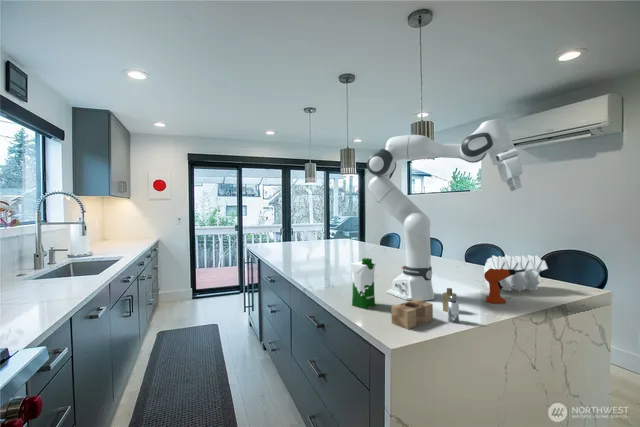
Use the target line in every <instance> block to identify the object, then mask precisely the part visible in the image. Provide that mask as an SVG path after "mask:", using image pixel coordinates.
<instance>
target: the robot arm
mask: <svg viewBox="0 0 640 427" xmlns="http://www.w3.org/2000/svg"><path fill="white" fill-rule="evenodd" d="M487 154H489V157H490V160H491V163H492V165H493V166H497V170H498V173H499V174H498V175H500V176H499V177H500V179H501V182H503V183H506V185H507V186H508V187H509V190H510V192H514V191H516V190H517V189H522V188H523V186H522V183H521V177H520V176H521V175H523V168H522V163H521V161H520V157H519V154H520V153H519V151H518V149H517V148H516V147H515V145H514V143H513V142H512V140H511V134H510V132H509V130H508V127H507V125H506V123H505V122H504V121H503V120H502V119H500V118H490V119H488V120H485V121H483V122H481V123H480V125H479V126H478V127H477V129H475V131H473V132H472V133H470V134H469V135H468V136H467V137H465V138H464V139H463V140H462V142H461V143H442V142H441V143H440V142H438V141H435V140H433V139H432V138H429V137H428V136H426V135H422V134H421V135H419V134H404V135H397V136H393V137H389V139H387V141H386V143H385V148H381V149H380V150H378V151H376V152H374V153H372V154H371V155H370V156H369V157H368V158H367V162H366V168H367V170H368V171H369V173H370V174H371V175H373V176H372V178H371V179H370V180H369V182H368V185H367V188H368V191H369V192H370V193H371V195H372V196H373V198H374V199H375V200H376V201H377V202H378V203H379V205H381V206H382V207H383V209H385V210H386V211H387V212H388V213H389V214H390V216H392V217H394V218H395V220H396V221H398V222H399V223H400V224H401V225H403V232H404V234H403V235H404V237H403V238H404V246H405V249H404V250H405V265H404V266H402V267H401V270H402V272H401V274H398V276H397V277H395V278H393V280H392V281H391V287H390V288H388V289H386V293H387V294H389V295H392V296H395V297H396V298H399V299H402V300H405V301H413V300H416V299H417V300H420V301H424V302H426V301H431V300H434V299H435V298H436V296H435V293H434V289H433V283H432V276H433V269H432V268H433V267H432V262H431V259H432V258H431V256H432V255H431V252H432V251H431V250H432V249H431V220H430V218H429V217H428V215H426V213H424V211H422V210H421V209H420V207H418V205H416V204H415V203H414V202H413V201H412V200H410V198H409V197H408V196H407V195H405V194H404V192H402V191H401V189H399V188H398V187H397V186H396V185H395V184H394V183H393V182H392V181H391V178H392V176H393V175H394V172H395V171H396V168H397V162H398V161H400V160H423V159H424V160H425V159H434V158H447V159H448V158H450V159H460V160H463V161H465V162H468V163H471V164H475V163H479V162H481V161H482V160H483V159H484V158H485V157H486V156H487Z"/></svg>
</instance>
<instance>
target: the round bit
mask: <svg viewBox="0 0 640 427" xmlns="http://www.w3.org/2000/svg"><path fill="white" fill-rule="evenodd" d="M447 321H448V322H449V323H451V324H460V302H459V301H458V300H457V295H456V296H450V301H448V312H447Z"/></svg>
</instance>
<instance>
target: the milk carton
mask: <svg viewBox="0 0 640 427" xmlns="http://www.w3.org/2000/svg"><path fill="white" fill-rule="evenodd" d="M372 261H373V259H372V258H370V257H365V258H362V259H361V261H356V262H352V263H350V267H351V274H352V277H351V278H352V280H351V281H352V296H351V297H352V299H351V300H352V301H351V306H353V307H356V308H359V309H363V310H366V309H369V308H371V307H375V306H376V300H375V299H376V298H375V296H376V295H375V271H376V269H375V268H376V262H372Z"/></svg>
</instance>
